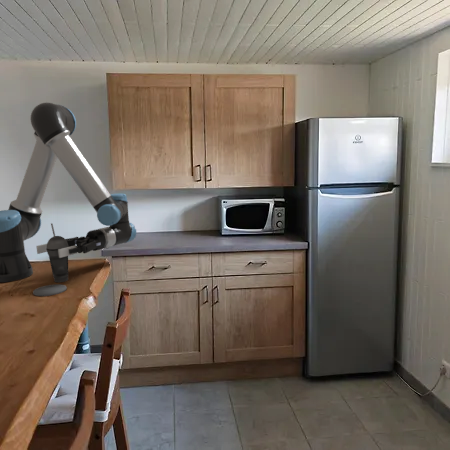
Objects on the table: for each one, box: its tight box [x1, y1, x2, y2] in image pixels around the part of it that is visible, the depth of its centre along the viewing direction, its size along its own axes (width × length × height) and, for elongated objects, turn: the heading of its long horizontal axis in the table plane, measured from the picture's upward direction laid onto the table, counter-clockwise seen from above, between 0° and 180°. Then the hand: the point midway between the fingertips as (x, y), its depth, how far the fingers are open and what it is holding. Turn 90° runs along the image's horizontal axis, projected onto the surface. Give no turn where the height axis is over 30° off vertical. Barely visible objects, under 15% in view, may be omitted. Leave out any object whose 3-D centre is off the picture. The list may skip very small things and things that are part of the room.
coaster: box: [32, 283, 68, 297], centre depth 145 cm, size 10×10×1 cm
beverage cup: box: [46, 222, 69, 283], centre depth 155 cm, size 7×7×20 cm
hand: (48, 251), depth 151 cm, fingers open, 12 cm apart
